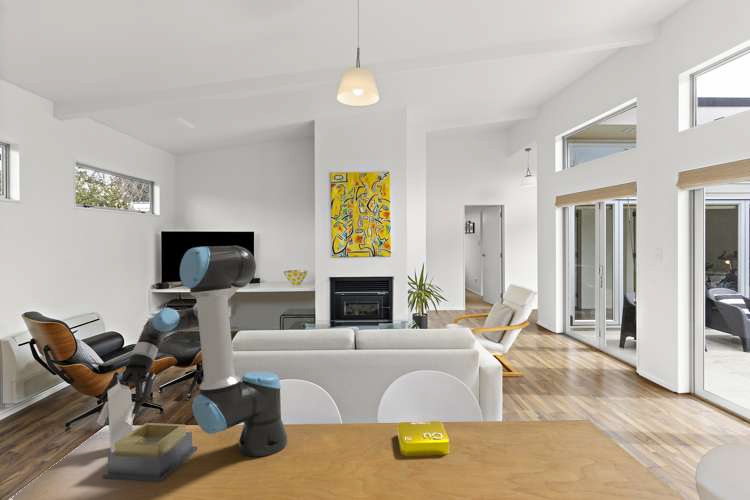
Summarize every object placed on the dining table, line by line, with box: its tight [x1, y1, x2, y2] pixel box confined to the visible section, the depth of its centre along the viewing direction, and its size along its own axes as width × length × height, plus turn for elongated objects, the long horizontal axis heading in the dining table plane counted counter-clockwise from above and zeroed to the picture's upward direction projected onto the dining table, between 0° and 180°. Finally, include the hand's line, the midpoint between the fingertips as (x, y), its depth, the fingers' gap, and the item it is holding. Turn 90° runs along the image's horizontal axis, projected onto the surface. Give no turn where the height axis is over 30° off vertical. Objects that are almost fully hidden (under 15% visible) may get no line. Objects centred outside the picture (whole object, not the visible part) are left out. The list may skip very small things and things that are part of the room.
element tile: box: [397, 420, 450, 457], centre depth 136 cm, size 15×15×5 cm
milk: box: [108, 380, 134, 454], centre depth 137 cm, size 6×6×22 cm
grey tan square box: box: [102, 422, 198, 483], centre depth 128 cm, size 18×18×9 cm
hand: (113, 423), depth 134 cm, fingers closed on milk, 8 cm apart
